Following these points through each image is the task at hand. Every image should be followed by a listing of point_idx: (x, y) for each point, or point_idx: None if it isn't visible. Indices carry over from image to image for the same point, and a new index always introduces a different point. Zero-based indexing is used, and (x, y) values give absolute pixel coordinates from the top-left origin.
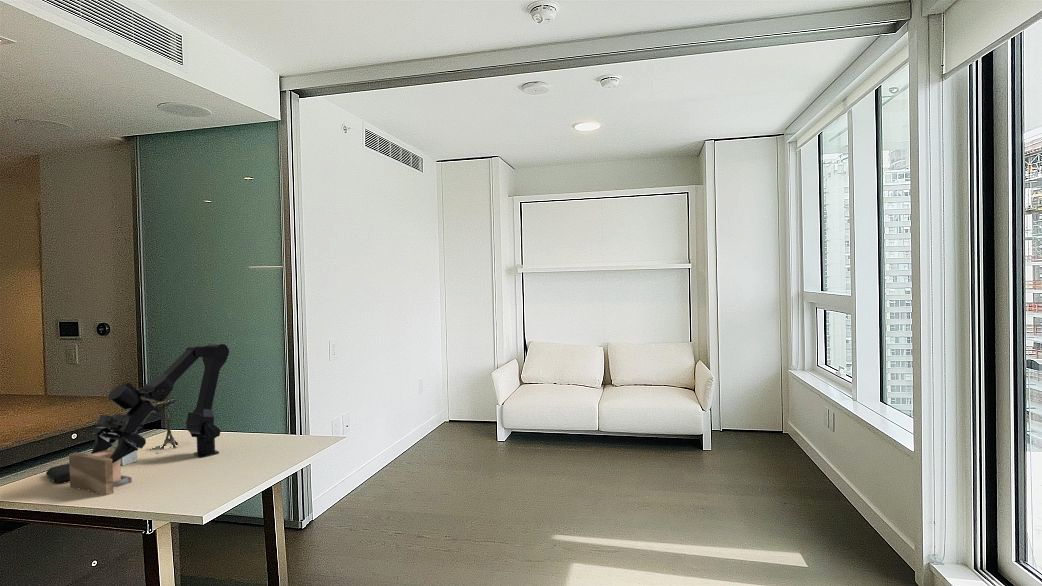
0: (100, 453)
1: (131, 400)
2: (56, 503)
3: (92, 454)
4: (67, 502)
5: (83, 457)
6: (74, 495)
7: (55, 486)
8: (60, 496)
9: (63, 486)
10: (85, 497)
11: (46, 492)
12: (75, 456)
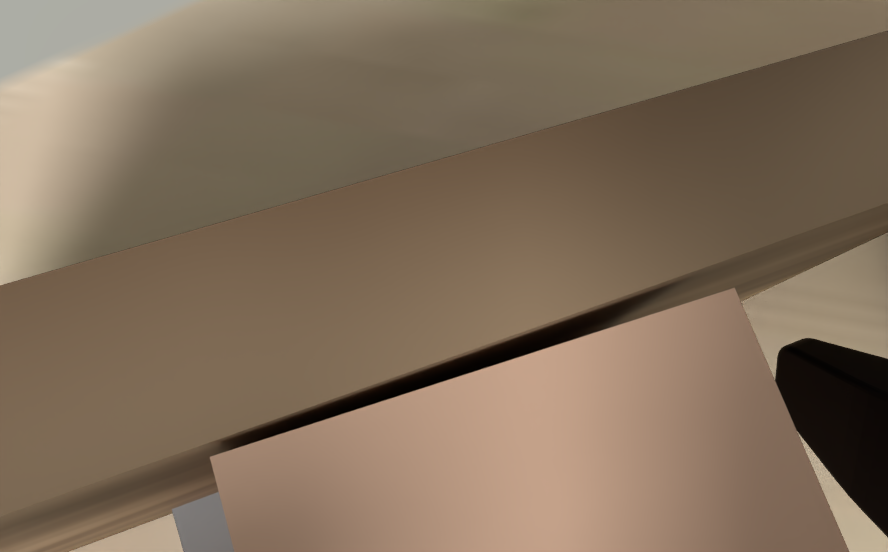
0: (612, 541)
1: None
2: (151, 24)
3: (655, 346)
4: (78, 104)
5: (541, 137)
6: None
7: None
8: (396, 99)
9: None
10: None
11: (664, 38)
12: (826, 57)
